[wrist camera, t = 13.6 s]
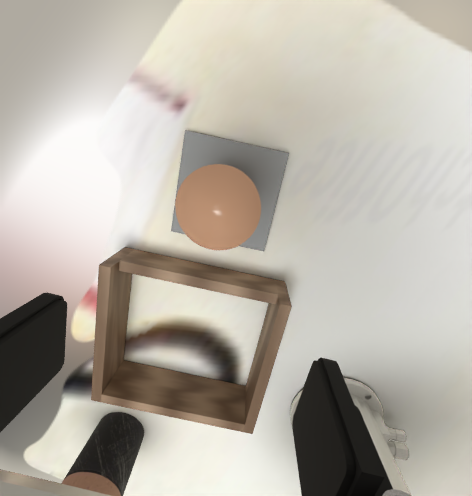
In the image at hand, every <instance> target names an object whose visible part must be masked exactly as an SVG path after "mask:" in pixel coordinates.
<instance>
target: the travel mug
mask: <svg viewBox="0 0 472 496" xmlns="http://www.w3.org/2000/svg"><path fill="white" fill-rule="evenodd" d="M143 436H144V430H143V427H142V425H141V423H140V422H139V421H138V420H137V419H136V418H134V417H133V416H131V415H128V414H125V413H119V412H116V413H110V414H108V415H106V416H105V417H103V418H102V419H101V421H100V422H99V424H98V425H97V427H96V429H95V430H94V432H93V433H92V435H91V437H90V438H89V440H88V441H87V443H86V445H85V446H84V448H83V450H82V451H81V453H80V454H79V456H78V458H77V459H76V461H75V462H74V464H73V466H72V467H71V469H70V470H69V472H68V474H67V475H66V477H65V479H64V480H63V482H62V483H61V484H65V485H69V486H73V487H78V488H82V489H86V490H90V491H94V492H98V493H103V494H107V495H111V496H123V494H124V491H125V488H126V485H127V482H128V480H129V477H130V474H131V471H132V468H133V466H134V463H135V460H136V457H137V454H138V452H139V449H140V446H141V443H142V440H143Z"/></svg>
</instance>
